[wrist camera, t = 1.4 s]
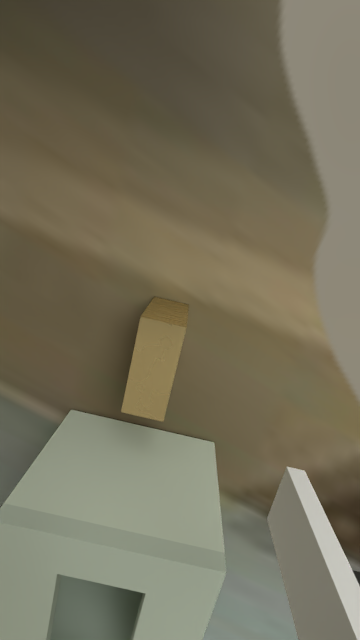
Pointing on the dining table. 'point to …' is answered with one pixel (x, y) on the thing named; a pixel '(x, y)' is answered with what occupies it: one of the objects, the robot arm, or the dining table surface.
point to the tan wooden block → (155, 358)
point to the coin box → (112, 536)
